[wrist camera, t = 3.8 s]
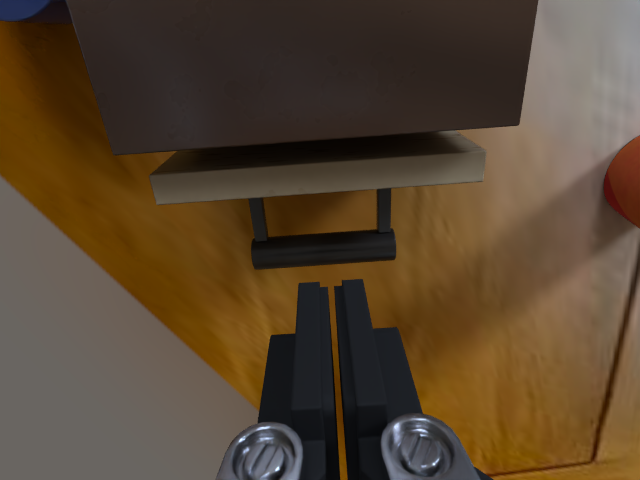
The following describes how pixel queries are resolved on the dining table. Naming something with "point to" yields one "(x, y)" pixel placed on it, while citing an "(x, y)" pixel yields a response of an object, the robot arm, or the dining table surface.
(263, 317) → the dining table surface
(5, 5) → the blue cylinder can
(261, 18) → the cabinet
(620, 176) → the paper cup
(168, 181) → the drawer
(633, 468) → the dining table surface
